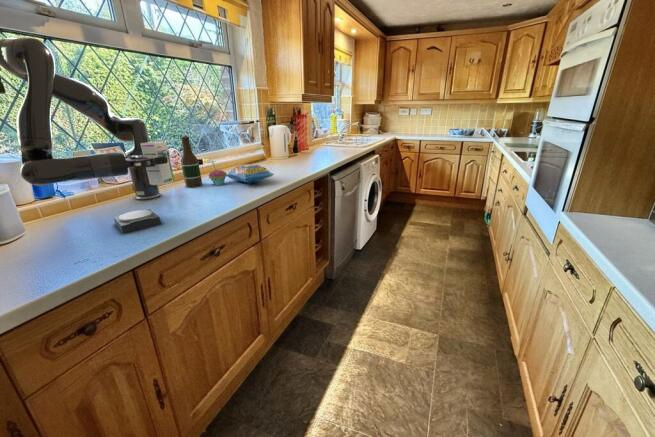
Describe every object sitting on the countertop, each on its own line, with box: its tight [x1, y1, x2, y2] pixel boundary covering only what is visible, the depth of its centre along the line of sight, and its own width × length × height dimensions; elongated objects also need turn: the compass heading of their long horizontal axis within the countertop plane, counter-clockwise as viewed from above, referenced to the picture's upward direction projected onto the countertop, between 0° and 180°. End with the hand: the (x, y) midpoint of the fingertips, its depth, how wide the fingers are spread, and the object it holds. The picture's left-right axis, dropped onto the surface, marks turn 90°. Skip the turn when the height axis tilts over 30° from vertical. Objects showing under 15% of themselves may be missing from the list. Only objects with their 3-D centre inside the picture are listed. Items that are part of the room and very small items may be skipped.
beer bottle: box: [180, 135, 203, 188], centre depth 147 cm, size 8×8×24 cm
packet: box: [226, 164, 275, 185], centre depth 153 cm, size 17×24×8 cm
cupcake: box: [208, 159, 228, 186], centre depth 151 cm, size 9×8×12 cm
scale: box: [113, 208, 162, 234], centre depth 101 cm, size 12×11×3 cm
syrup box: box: [141, 140, 175, 186], centre depth 105 cm, size 6×6×14 cm
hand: (163, 158), depth 106 cm, fingers closed on syrup box, 7 cm apart
